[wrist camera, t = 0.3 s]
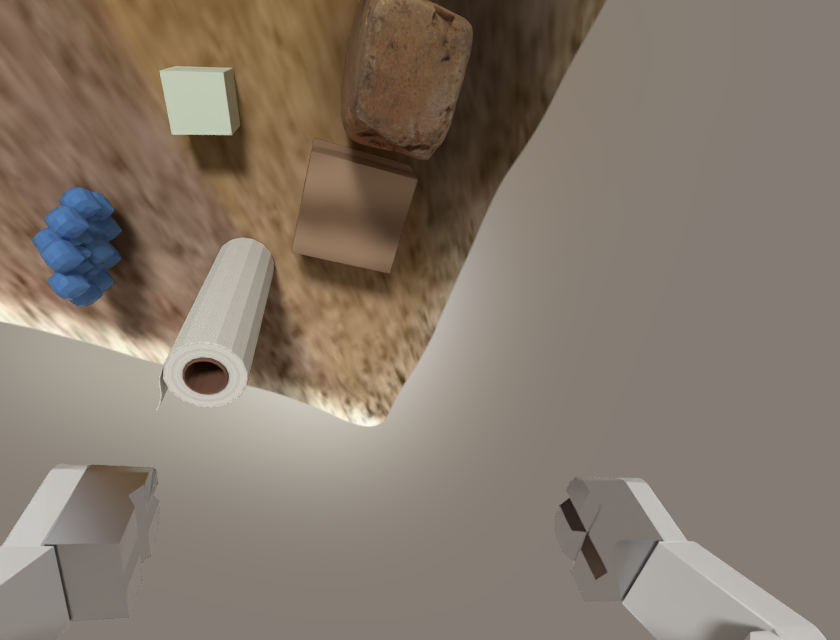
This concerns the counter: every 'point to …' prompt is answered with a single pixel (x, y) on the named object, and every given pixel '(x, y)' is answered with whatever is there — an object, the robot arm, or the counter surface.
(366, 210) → the walnut block
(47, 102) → the counter surface
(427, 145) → the block
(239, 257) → the paper towel roll
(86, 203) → the grapes
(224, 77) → the green cube
